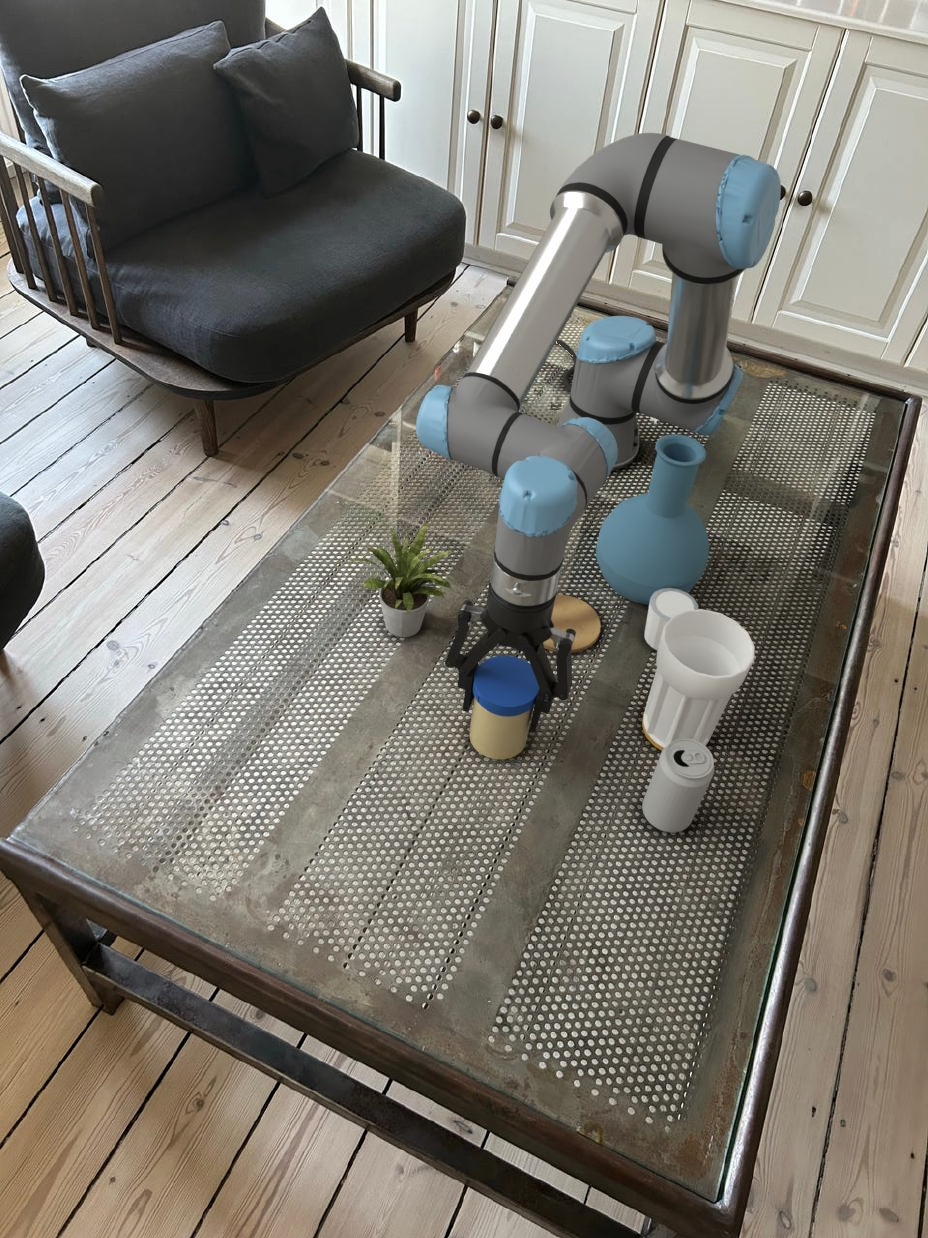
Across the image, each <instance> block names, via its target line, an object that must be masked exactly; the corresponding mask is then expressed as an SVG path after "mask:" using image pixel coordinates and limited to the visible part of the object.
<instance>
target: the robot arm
mask: <svg viewBox="0 0 928 1238" xmlns="http://www.w3.org/2000/svg"><path fill="white" fill-rule="evenodd" d="M781 183H782V182H781V178H780V175H779V172H778V171H777V169H776V168H775V167H774V166H773V165H771V164H769V163H766V162H764V161H760V160H758V159H755V158H754V157H752V156H750V155H747V154H739V153H736V152H731V151H727V150H724V149H720V148H716V147H712V146H708V145H705V144H704V145H703V144H700V143H695V142H691V141H688V140H684V139H680V138H676V137H673V136H670V135H667V134H664V133H659V132H658V133H657V132H640V133H635V134H632V135H628V136H625V137H622V138H620V139H618V140H615V141H613V142H611V143H609V144H607V145H606V146H604V147H602V148H600V149H599V150H597V151H596V152H594V153H593V154H592V155H590V156H589V157H588V158H586V159H585V160H584V161H583V162H582V163H581V164H580V165H578V166H577V167H576V168H575V169H574V171H573V172H572V173H571V174H570V175H569V176H568V178H567V179H566V180H565V181H564V182H563V184H562V185H561V187H560V189H559V190H558V192H557V193H556V196H555V197H554V199H553V200H552V202H551V204H550V208H549V216H550V223H549V224H548V226H547V228H546V230H545V231H544V233H543V235H542V237H541V238H540V240H539V242H538V244H537V245H536V247H535V249H534V250H533V252H532V254H531V256H530V258H529V259H528V261H527V263H526V265H525V266H524V268H523V270H522V272H521V274H520V275H519V277H518V279H517V281H516V283H515V284H514V286H513V288H512V290H511V291H510V293H509V295H508V297H507V298H506V300H505V302H504V304H503V305H502V307H501V309H500V310H499V312H498V314H497V315H496V317H495V319H494V321H493V323H492V325H491V326H490V327H489V329H488V332H487V333H486V335H485V337H484V339H483V340H482V342H481V344H480V346H479V347H478V349H477V351H476V353H475V354H474V357H473V358H472V360H471V361H470V363H469V365H468V367H467V369H466V370H465V372H464V374H463V375H462V377H461V379H460V381H459V382H458V384H457V386H456V387H455V386H453V385H449V386H448V385H446V384H437V385H435V386H434V387H432V388H431V390H429V391H428V392H427V393H426V395H425V397H424V398H423V400H422V402H421V404H420V406H419V410H418V413H417V417H416V421H415V432H416V433H415V434H416V437H417V440H418V442H419V444H420V445H421V446H422V447H423V448H425V449H427V450H430V451H432V452H433V453H435V454H438V455H439V456H442V457H444V458H446V459H448V460H449V461H456V462H458V463H461V464H464V465H466V466H469V467H471V468H474V469H478V470H480V471H483V472H486V473H488V474H491V475H493V476H496V477H497V478H499V479H502V480H503V484H502V487H501V491H500V492H499V500H498V514H497V515H498V516H497V525H496V532H495V540H494V546H493V547H494V548H493V554H492V560H491V568H490V574H489V582H488V590H487V597H486V604H484V606H482V607H480V606H474V603H473V601H472V600H470V599H465V600H463V602H462V604H461V607H460V609H459V611H458V613H457V616H456V618H457V629H456V633H455V635H454V638H453V641H452V643H451V646H450V648H449V651H448V653H447V656H446V659H445V661H444V666H445V667H447V668H449V669H453V668H455V669H457V671H458V678H457V687H458V689H461V690H464V695H463V704H462V712H466V713H469V711H470V709H471V707H472V705H473V700H474V693H473V681H474V675H475V672H476V670H477V668H478V666H479V665H480V662H481V661H482V659H483V658H484V657H485V656H487V655H488V654H489V652H490V651H493V650H494V649H495V648H496V647H497V646H498V645H499V646H502V647H506V648H512V649H515V650H517V651H520V652H522V653H523V654H524V658H525V661H526V662H528V663H529V664H530V665H531V667H532V670H533V672H534V675H535V677H536V680H537V683H538V685H539V691H538V694H537V697H536V700H535V705H534V708H533V713H532V718H531V722H530V727H529V732H533V733H536V731H537V728H538V725H539V722H540V719H541V716H542V713H544V714H549V713H550V712H551V709H552V705H553V702H554V699H555V698H558V699H559V700H561V701H564V702H565V701H568V699H569V696H570V693H571V689H572V686H573V660H572V659H573V658H572V657H573V656H572V655H573V653H571V648H572V645H573V642H574V639H575V635H576V631H575V630H573V629H567V630H566V632H564V631H561V630H559V629H557V628H554V624H553V622H552V619H551V617H552V613H553V608H554V603H555V598H556V595H557V591H558V587H559V583H560V579H561V574H562V569H563V563H564V557H565V553H566V548H567V544H568V539H569V535H570V533H571V532H572V529H573V528H574V526H575V525H576V524H577V523H578V521H579V519H580V518H581V517H582V515H583V513H584V512H585V510H586V509H587V508H588V506H589V505H590V504H591V502H592V501H593V499H594V498H595V497H596V495H597V494H598V493H599V491H600V490H601V489H602V488H603V487H604V486H605V484H606V483H607V481H608V477H609V475H610V473H611V472H615V471H618V470H622V469H624V468H627V467H628V466H630V465H631V464H633V462H634V461H635V460H636V458H637V456H638V453H639V448H640V423H639V421H640V420H638V418H637V413H638V414H641V415H644V416H646V417H649V418H652V419H655V420H658V421H661V422H663V423H666V424H669V425H672V426H675V427H678V428H681V429H684V430H687V431H688V432H689V433H692V434H699V435H701V436H706V437H711V436H713V435H715V434H716V433H717V432H718V430H719V428H720V427H721V424H722V422H723V420H724V418H725V416H726V413H727V411H728V409H729V407H730V405H731V403H732V401H733V398H734V396H735V395H736V392H737V390H738V388H739V386H740V384H741V381H742V379H743V378H744V376H745V372H744V369H742V368H741V367H739V366H738V365H737V364H734V362H733V357H732V354H731V352H730V350H729V349H728V347H727V344H728V343H727V342H728V337H729V332H730V326H731V320H732V319H731V318H732V314H733V308H734V303H735V298H736V291H737V285H738V280H739V276H740V275H741V274H742V273H744V272H745V271H746V270H747V269H751V268H755V267H756V266H757V265H758V264H759V263H760V262H761V260H762V258H763V256H764V255H765V253H766V251H767V248H768V247H769V244H770V241H771V239H772V236H773V233H774V229H775V225H776V218H777V215H778V213H779V209H780V203H781V194H782V190H781V189H782V185H781ZM628 235H630V236H636V237H637V238H640V239H643V240H647V241H650V242H654V243H656V244H660V245H661V253H662V258H663V261H664V263H665V266H666V267H667V268H668V270H669V271H670V272H671V273H672V274H671V283H670V284H671V285H670V299H669V300H670V301H669V314H668V327H667V340H666V343H665V342H663V341H659V340H656V339H657V334H656V331H655V328H654V327H653V326H652V324H651V325H650V323H649V322H648V321H646V320H644V319H642V318H638V317H634V316H628V315H612V316H608V317H602V318H598V319H596V320H595V321H592V322H591V323H589V324H588V325H587V326H586V327H585V329H584V330H583V331H582V334H581V337H580V341H579V345H578V347H577V350H576V353H575V351H574V349H572V348H571V347H570V346H569V345H568V343H566V342H565V341H563V340H562V339H559V337H560V336H561V334H562V332H563V330H564V329H565V326H566V325H567V323H568V321H569V320H570V317H571V316H572V314H573V312H574V310H575V309H576V307H577V305H578V303H579V301H580V299H581V297H582V296H583V294H584V292H585V290H586V289H587V287H588V285H589V283H590V282H591V280H592V278H593V276H594V274H595V272H596V271H597V269H598V267H599V265H600V263H601V262H602V260H603V258H604V256H605V254H607V253H610V252H613V251H614V250H616V249H617V248H618V247H619V245H620V244H621V242H622V240H623V238H624V237H625V236H628ZM556 341H557V343H558V344H560V345H561V346H562V347H561V346H560V345H559V346H560V347H561V348H563V349H564V351H566V350H567V351H568V352H569V353H570V354H571V355H573V357H572V356H571V355H570V354H569V353H568V352H567V351H566V352H567V353H568V354H569V357H571V359H572V361H573V365H572V366H571V367H570V368H569V369H568V370H566V371H565V372H564V374H563V375H562V378H561V379H562V380H561V381H562V384H563V386H564V387H565V389H566V390H567V391H568V392H569V399H568V402H567V404H566V406H565V408H564V410H563V411H562V413H561V416H560V417H559V418H558V420H557V421H556V422H555V424H553V423H551V422H547V421H545V420H542V419H539V418H536V417H533V416H530V415H528V414H525V413H523V412H520V408H521V407H522V405H523V403H524V400H526V397H527V396H528V394H529V392H530V390H531V388H532V386H533V384H534V383H535V382H536V379H537V377H538V376H539V374H540V372H541V370H542V368H543V367H544V365H545V363H546V362H547V360H548V357H549V356H550V354H551V353H552V350H553V348H554V347H555V345H557V344H556ZM572 374H573V377H572V381H571V382H572V383H570V382H569V377H570V376H571V375H572ZM478 620H480V621H481V623H482V625H484V628H486V630H487V631H486V632H485V633H484V635H482V636H481V637H480V638H479V640H478V641H477V642H475V644H474V645H473V646H472V647H471V648H470V649H469V650H468V651H466V652H465V654H463V653H461V651H462V649H463V646H464V644H465V641H466V638H467V637H468V633H469V631H470V628H471V627H472V626H473V625H476V623H477V622H478ZM548 639H552V640H553V642H554V643H553V645H554V647H555V650H556V651H558V652H556V659H555V660H556V675H555V673H554V670H553V667H552V664H551V663H550V660H549V656H548V654H547V651H546V648H544V645H543V644H544V642H545V641H547V640H548Z"/></svg>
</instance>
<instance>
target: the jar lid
mask: <svg viewBox="0 0 928 1238" xmlns="http://www.w3.org/2000/svg"><path fill="white" fill-rule="evenodd" d="M538 691H539V685H538V683H537V680H536V677H535V675H534V672H533V670H532V667H531V665H530V662H529V661H527V660H525V659H522V658H520V657H517V656H513V655H495V656H492V657H489V658H487V659H484V661H483V662H481V663H479V666H478V668H477V670H476V672H475V675H474V681H473V693H474V696H475V698H476V700H477V702H478V703H479V704H480V705H481V706H482V707H483V708H484V709H486V710H487V711H489V712H491V713H493V714H496V715H500V716H517V715H520V714H523V713H525V712H527V711H528V710H530V709H531V708H532V707H533V706H534V705H535V700H536V697H537V694H538Z"/></svg>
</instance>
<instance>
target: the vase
mask: <svg viewBox="0 0 928 1238" xmlns="http://www.w3.org/2000/svg"><path fill="white" fill-rule="evenodd" d="M654 450H655V451H656V452H657V454H656V458H655V460H654V464H653V469H652V473H651V477H650V481H649V486H648V492H644V493H641V494H637V495H635V496H632V497H629V498H626V499H625V500H622V501H621V502H619V503H618V504H617V505H616V506H615V507H614V508H613V510H611V512H609V514H608V515H607V516H606V518H604V520H603V521H602V523H601V526H600V529H599V533H598V537H597V542H596V547H595V558H596V561H597V564H598V566H599V569H600V572H601V575H602V576H603V578H604V580H605V582H606V583H607V584H608V585H609V587H611V589H612V590H613V591H614V592H615V593H616V594H617V595H618V596H621V597H623V598H624V599H626V600H628V601H630V602H633V603H638V604H643V605H646V606H649V603H650V598H651V596H652V595H653V593H654V592H656V591H658V590H660V589H664V588H674V589H680V590H682V591H684V592H686V593H688V594H689V593H690V592H691V590H693V588H695V586H696V585H697V584H698V582H699V581H700V579H701V578H702V577H703V575H704V573H705V571H706V569H707V566H708V560H709V553H710V551H709V550H710V540H709V535H708V532H707V530H706V528H705V525H704V523H703V520H702V519H701V517H700V514H699V513H698V512H696V510H695V509H693V507H692V506H690V505H689V504H688V499H689V498H690V494H691V492H692V488H693V486H694V483H695V479H696V476H697V475H698V474H697V473H698V470H699V465H701V464H702V463H703V461H704V460H705V459H706V457H707V450H706V449H705V447H704V445H703V444H702V443H701V442H700V441H699V440H698V439H696V438H693V437H690V436H689V435H683V434H680V433H673V434H666V435H664V436H661V437H659V438H658V440H656V442H655V447H654Z"/></svg>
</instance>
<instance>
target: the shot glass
mask: <svg viewBox="0 0 928 1238" xmlns="http://www.w3.org/2000/svg"><path fill="white" fill-rule="evenodd" d="M647 609H648V610H647V616H646V621H645V627H644V640H645V642H646V644H648V646H650V648H652V649H653V650H656V651H657V649H658V646H659V642H660V639H661V635H662V631H663V628H664V626H665V625H666V624H667V622H668V621H669V620H670V619H671V617H673V616H675V615H677V614H679V613H681V612H684V611H686V610H699V604H698V602H697V601H696V599H695V598H694V597H693V596H692V595H691V594H690V593H689V592H688V593H686V592H684V591H682V590H680V589H674V588H664V589H660V590H658V591H656V592H654V593H653V595H652V596H651V598H650V603H649V605H648V608H647Z"/></svg>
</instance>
